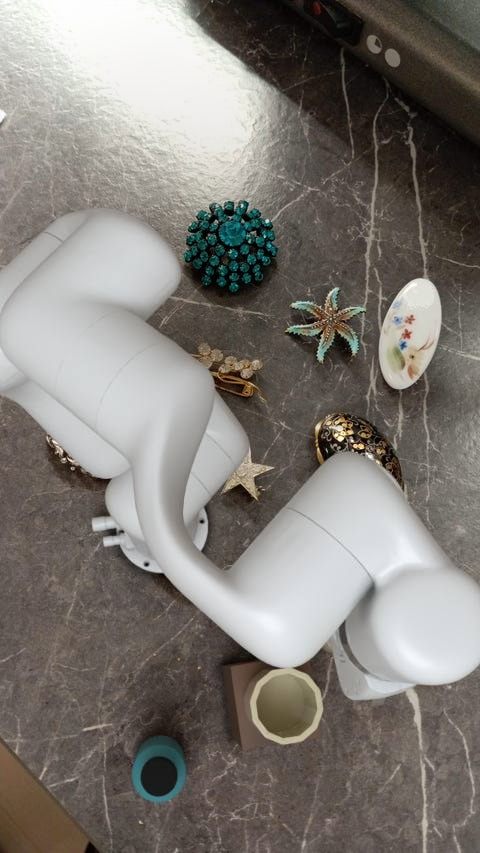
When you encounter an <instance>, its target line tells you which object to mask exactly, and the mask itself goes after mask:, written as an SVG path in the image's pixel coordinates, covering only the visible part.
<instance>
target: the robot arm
mask: <svg viewBox="0 0 480 853" xmlns="http://www.w3.org/2000/svg"><path fill="white" fill-rule="evenodd" d="M181 281H182V268H181V263H180V261H179V258H178V256H177V254H176V252H175V251H174V249H173V248H172V247H171V245H170V244H169V242H168V241H167V240H165V238H164V237H163V236H162V235H161V234H160V233H159V232H158V231H157V230H155V229H154V228H153V227H152V226H150V225H149V224H147V223H146V222H144V221H143V220H141V219H139V218H137V217H136V216H134V215H132V214H129V213H127V212H125V211H120V210H118V209H114V208H109V207H108V208H107V207H97V208H88V209H83V210H77V211H73V212H72V211H71V212H67V213H65V214H63V215H61V216H60V217H58V218H57V219H55V220H54V221H53V222H52V223H50V224H49V225H48V226H47V227H46V228H45V229H43V230H42V231H41V232H40V233H39V234H38V235H37V236H36V237H35V238H34V239H33V240H31V242H30V243H29V244H27V245H26V246H25V247H24V249H22V250H21V251H20V252H19V253H18V254H17V255H16V256H15V257H13V259H12V260H11V261H9V263H8V264H6V265H5V266H4V267H3V268H1V269H0V396H2V397H5V398H7V399H9V400H11V401H13V402H15V403H17V405H19V406H20V407H22V408H23V409H24V410H25V411H26V412H27V413H28V414H29V416H31V418H33V419H34V421H35V422H37V424H38V425H39V426H40V427H41V428H43V430H44V431H45V432H46V433H47V434H48V435H49V436H50V437H51V438H52V439H53V441H55V443H57V444H58V445H59V446H60V448H61V449H63V451H64V452H65V453H66V454H68V456H70V458H72V460H73V461H74V462H76V464H78V465H79V467H81V468H82V469H83V470H84V471H86V472H87V473H89V474H90V475H93V476H94V477H96V478H100V479H103V480H104V479H105V480H106V479H107V480H108V479H110V480H109V483H108V484H107V486H106V488H105V492H104V501H105V506H106V509H107V511H108V514H109V515H106V516H105V515H103V516H102V515H101V516H94V517H91V526H92V527H91V528H92V531H93V532H92V533H95V532H103V531H107V530H113V529H116V535H107V536H102V542H103V548H107V547H113V546H118V545H119V547H120V549H121V550H122V552H123V554H124V555H125V557H127V559H128V560H129V561H130V562H131V563H132V564H133V565H135V566H137V567H138V568H140V569H142V570H144V571H146V572H151V573H154V574H164V576H165V577H166V578H167V579H168V580H169V581H170V583H171V584H172V585H173V586H174V587H175V588H176V589H177V590H178V591H179V592H180V593H181V594H182V595H183V596H184V597H186V599H188V600H189V602H191V603H192V604H193V605H195V606H196V607H197V608H198V609H199V610H200V611H201V612H202V613H203V614H204V615H206V617H208V618H209V619H210V620H211V621H212V622H213V623H214V624H216V625H217V626H218V627H219V628H220V629H221V630H222V631H224V632H225V633H226V634H227V635H228V636H229V637H230V638H231V639H233V640H234V641H235V642H236V643H237V644H239V646H241V647H242V648H243V649H244V650H246V651H248V653H250V654H251V655H253V656H254V657H256V658H257V660H262V661H264V662H265V663H268V664H270V665H272V666H276V667H280V668H293V667H297V666H300V665H302V664H304V663H305V662H307V661H309V660H310V661H311V659H312V658H314V657H315V656H316V655H317V654H318V652H319V651H321V649H323V648H322V647H323V645H324V644H325V643H326V642H327V641H328V640H329V638H330V641H331V646H332V650H333V654H332V655H333V660H334V663H335V664H334V665H335V668H336V673H337V678H338V682H339V686H340V688H341V691H342V693H343V695H344V696H346V697H347V698H348V699H349V700H351V701H366V702H367V706H368V707H369V709H371V708H376V707H380V706H384V705H385V703H386V699H387V698H388V697H392V696H395V695H398V694H399V695H400V694H402V693H405V692H407V691H409V690H411V689H413V688H414V687H416V686H417V685H422V686H441V685H446V684H452V683H455V682H458V681H460V680H462V679H463V678H465V677H467V676H469V675H470V674H471V673H473V672H474V671H475V670H476V669H477V668H478V667H479V666H480V585H479V583H478V582H477V581H476V580H475V578H473V576H471V575H469V573H467V572H466V571H464V570H463V569H461V568H459V567H457V566H456V565H455V564H454V562H453V561H452V560H451V559H450V557H449V556H448V555H447V553H446V552H445V551H444V549H443V548H442V547H441V545H440V544H439V542H438V541H437V540H436V539H435V538H434V536H433V535H432V533H431V532H430V531H429V529H428V528H427V526H425V523H424V522H423V521H422V520H421V518H420V517H419V516H418V514H417V513H416V511H415V510H414V508H413V507H412V505H411V504H410V503H409V501H407V499H406V495H405V492H404V490H403V489H402V487H401V485H400V484H399V482H398V481H397V479H396V478H395V476H393V475H392V474H391V472H389V471H388V470H387V468H385V467H384V466H383V465H382V464H380V463H379V462H377V461H376V460H374V459H372V458H369V457H366V456H364V455H362V454H360V453H358V452H354V451H349V450H348V451H340V452H337V453H334V454H332V455H331V456H330V457H329V458H327V459H326V460H325V461H323V463H322V464H321V465H320V466H319V467H318V468H317V469H316V470H315V471H314V472H313V473H312V475H310V477H309V478H308V479H307V480H306V481H305V482H304V484H303V485H302V486H301V487H300V488H299V489H298V491H297V492H295V494H294V495H293V496H292V498H291V499H290V500H288V502H287V503H286V504H285V505H284V507H281V509H280V510H279V511H278V512H277V514H275V516H274V517H273V518H272V519H271V520H270V521H269V523H267V525H265V527H264V528H263V529H262V530H261V532H260V533H259V534H258V535H257V536H256V537H255V539H254V540H253V541H251V543H250V544H249V546H248V547H247V548H246V549H245V550H244V552H243V553H242V554H241V555H240V556H239V557H238V558H237V559H236V561H235V562H234V563H233V564H232V566H230V568H229V569H227V570H224V569H222V568H220V567H219V566H217V565H216V564H214V563H213V561H212V560H210V559H209V558H208V557H207V556H206V555H205V554H204V553H203V552H202V551H203V548H204V547H205V544H206V542H207V538H208V533H209V519H208V515H207V512H206V509H205V506H206V505H207V504H208V503H209V502H210V501H211V500H212V497H213V496H214V495H215V494H216V493H217V492H218V491H219V490H220V489H221V487H223V485H224V484H225V483H226V482H227V481H228V480H229V479H230V478H231V477H232V475H233V474H234V473H235V472H236V471H237V470H238V469H239V467H240V466H241V465H242V463H243V462H244V461H245V460H246V458H247V456H248V454H249V452H250V439H249V437H248V435H247V432H246V431H245V429H244V427H243V425H242V424H241V422H240V421H239V420H238V418H237V417H236V415H235V414H234V412H233V411H232V410H231V409H230V407H229V406H228V405H227V403H226V402H225V401H224V399H223V398H222V397H221V395H220V394H219V391H217V390H216V384H215V380H214V379H215V378H214V377H213V375H212V373H211V371H210V369H209V368H207V366H206V365H205V364H204V363H202V362H201V361H199V360H198V359H197V358H195V357H194V356H192V355H191V354H190V353H188V352H187V351H186V350H185V349H183V348H182V347H181V346H180V345H179V344H178V343H177V342H175V341H174V340H172V339H171V338H169V337H167V336H166V335H164V334H163V333H161V332H160V331H159V330H158V329H156V328H155V327H153V326H152V325H150V324H149V323H148V322H146V321H147V320H149V318H151V316H152V315H153V314H154V313H155V312H156V311H157V310H158V309H159V308H160V307H161V306H163V304H164V303H165V302H166V301H167V300H168V299H169V298H170V297H171V296H172V295H173V294H174V293H175V292H176V290H177V289H178V287H179V285H180V283H181ZM201 521H203V522H201ZM146 563H147V564H148V565H146Z"/></svg>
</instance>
